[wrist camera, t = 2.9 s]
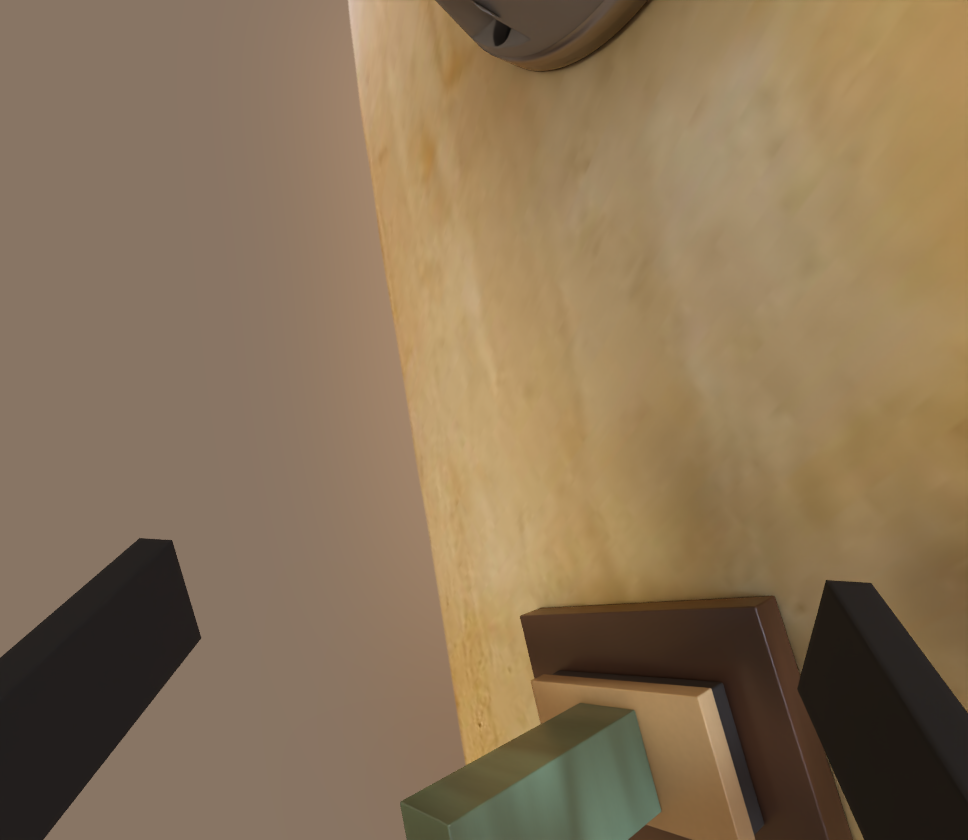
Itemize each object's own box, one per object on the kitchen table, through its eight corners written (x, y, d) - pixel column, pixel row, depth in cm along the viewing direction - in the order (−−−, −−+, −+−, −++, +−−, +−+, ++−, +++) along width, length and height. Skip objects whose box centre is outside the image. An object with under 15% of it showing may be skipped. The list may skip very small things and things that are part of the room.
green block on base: (557, 667, 27) (357, 762, 21) (724, 678, 20) (505, 825, 14) (584, 778, 26) (384, 914, 20) (769, 829, 20) (556, 1061, 13)
